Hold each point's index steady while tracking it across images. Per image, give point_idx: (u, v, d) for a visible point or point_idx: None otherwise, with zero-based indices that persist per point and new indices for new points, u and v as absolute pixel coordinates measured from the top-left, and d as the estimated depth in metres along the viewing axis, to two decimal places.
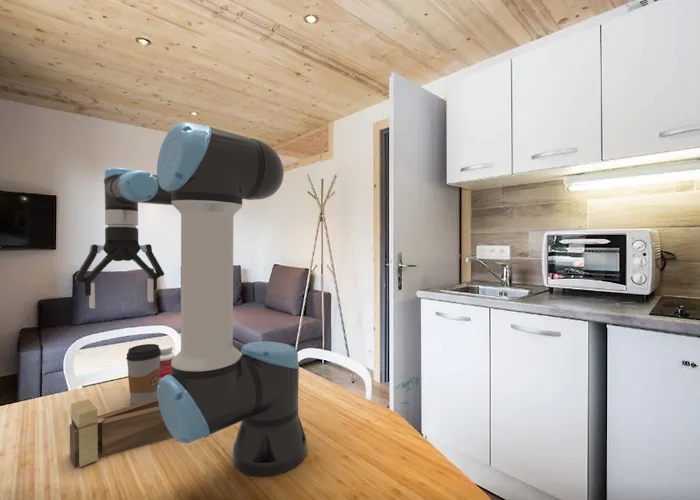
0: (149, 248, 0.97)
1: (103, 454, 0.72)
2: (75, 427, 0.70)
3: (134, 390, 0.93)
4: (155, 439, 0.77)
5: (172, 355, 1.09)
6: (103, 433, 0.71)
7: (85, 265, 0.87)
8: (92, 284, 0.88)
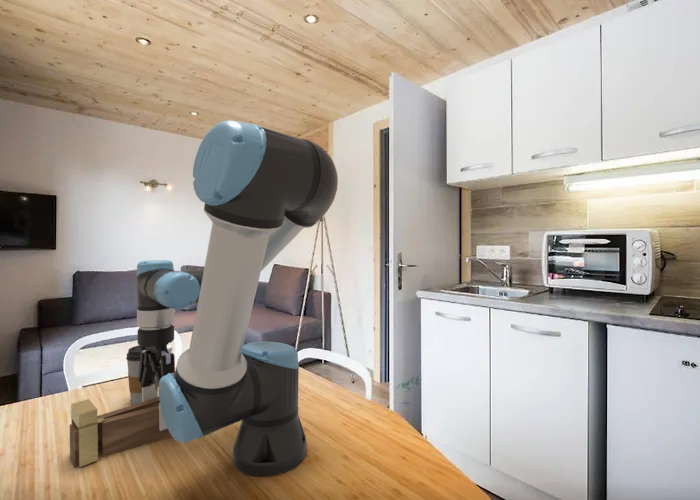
0: (161, 361, 0.76)
1: (103, 454, 0.72)
2: (75, 427, 0.70)
3: (134, 390, 0.93)
4: (155, 438, 0.77)
5: None
6: (103, 433, 0.72)
7: (139, 366, 0.85)
8: (142, 389, 0.84)
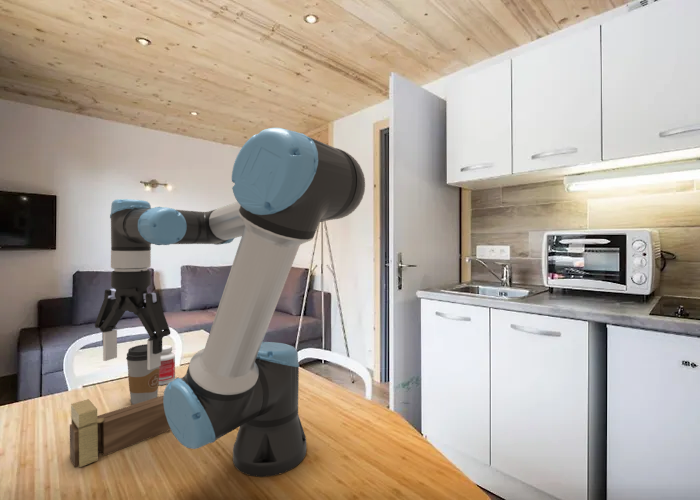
0: (147, 299, 0.74)
1: (104, 453, 0.72)
2: (75, 427, 0.70)
3: (134, 390, 0.93)
4: (153, 433, 0.79)
5: (172, 355, 1.09)
6: (104, 432, 0.72)
7: (100, 312, 0.79)
8: (103, 334, 0.79)
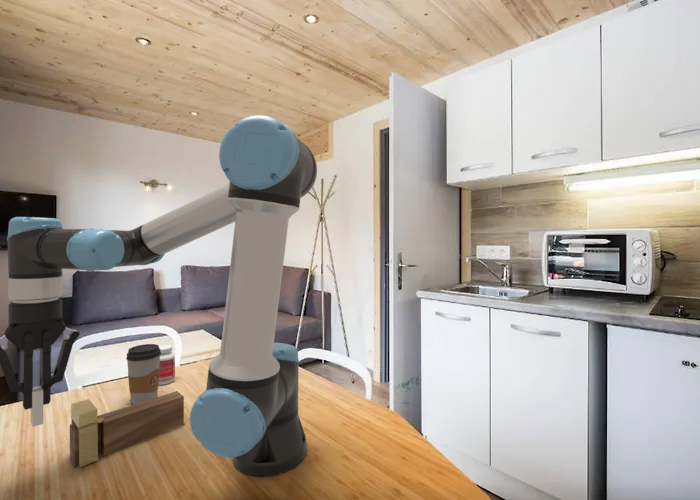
0: (74, 337, 0.68)
1: (104, 453, 0.72)
2: (75, 427, 0.70)
3: (134, 390, 0.93)
4: (153, 433, 0.79)
5: (172, 355, 1.09)
6: (104, 432, 0.72)
7: (5, 372, 0.61)
8: (34, 393, 0.64)
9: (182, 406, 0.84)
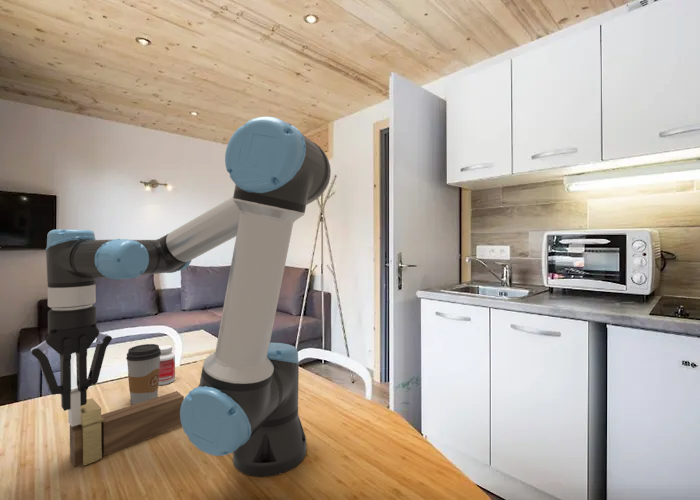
0: (107, 341, 0.73)
1: (104, 453, 0.72)
2: (75, 427, 0.70)
3: (134, 390, 0.93)
4: (153, 433, 0.79)
5: (172, 355, 1.09)
6: (104, 432, 0.72)
7: (47, 376, 0.65)
8: (72, 395, 0.68)
9: None
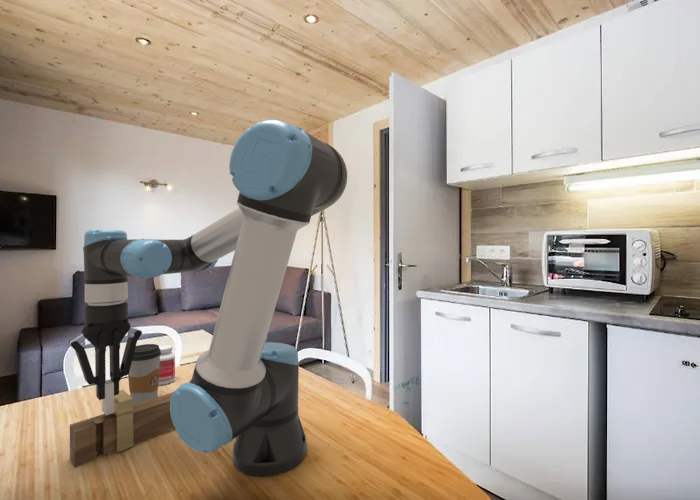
0: (137, 335, 0.77)
1: (104, 453, 0.72)
2: (75, 427, 0.70)
3: (134, 390, 0.93)
4: (153, 433, 0.79)
5: (172, 355, 1.09)
6: (104, 432, 0.72)
7: (84, 367, 0.70)
8: (107, 385, 0.73)
9: None
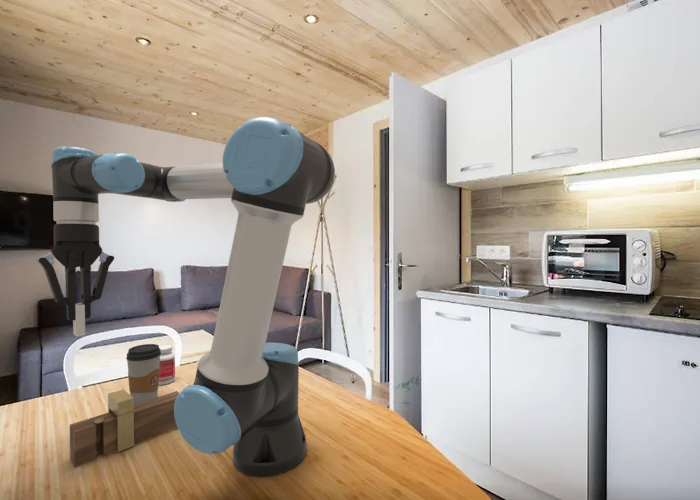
0: (109, 260, 0.76)
1: (104, 453, 0.72)
2: (75, 427, 0.70)
3: (134, 390, 0.93)
4: (153, 433, 0.79)
5: (172, 355, 1.09)
6: (104, 432, 0.72)
7: (53, 284, 0.69)
8: (77, 306, 0.72)
9: None
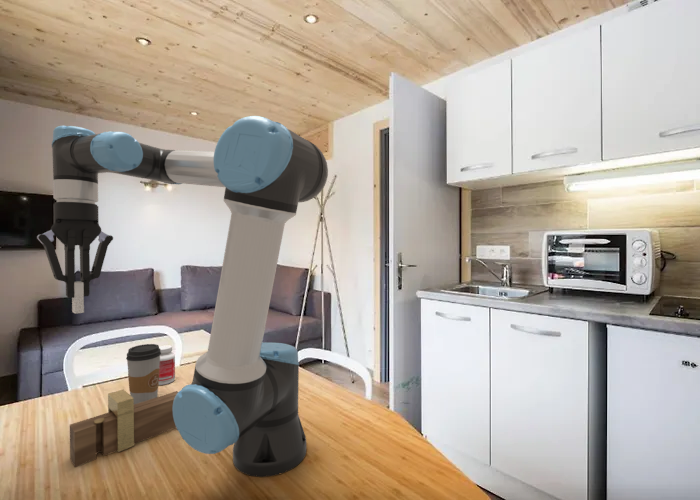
0: (108, 240, 0.77)
1: (104, 453, 0.72)
2: (75, 427, 0.70)
3: (134, 390, 0.93)
4: (153, 433, 0.79)
5: (172, 355, 1.09)
6: (104, 432, 0.72)
7: (52, 261, 0.70)
8: (76, 284, 0.73)
9: None
